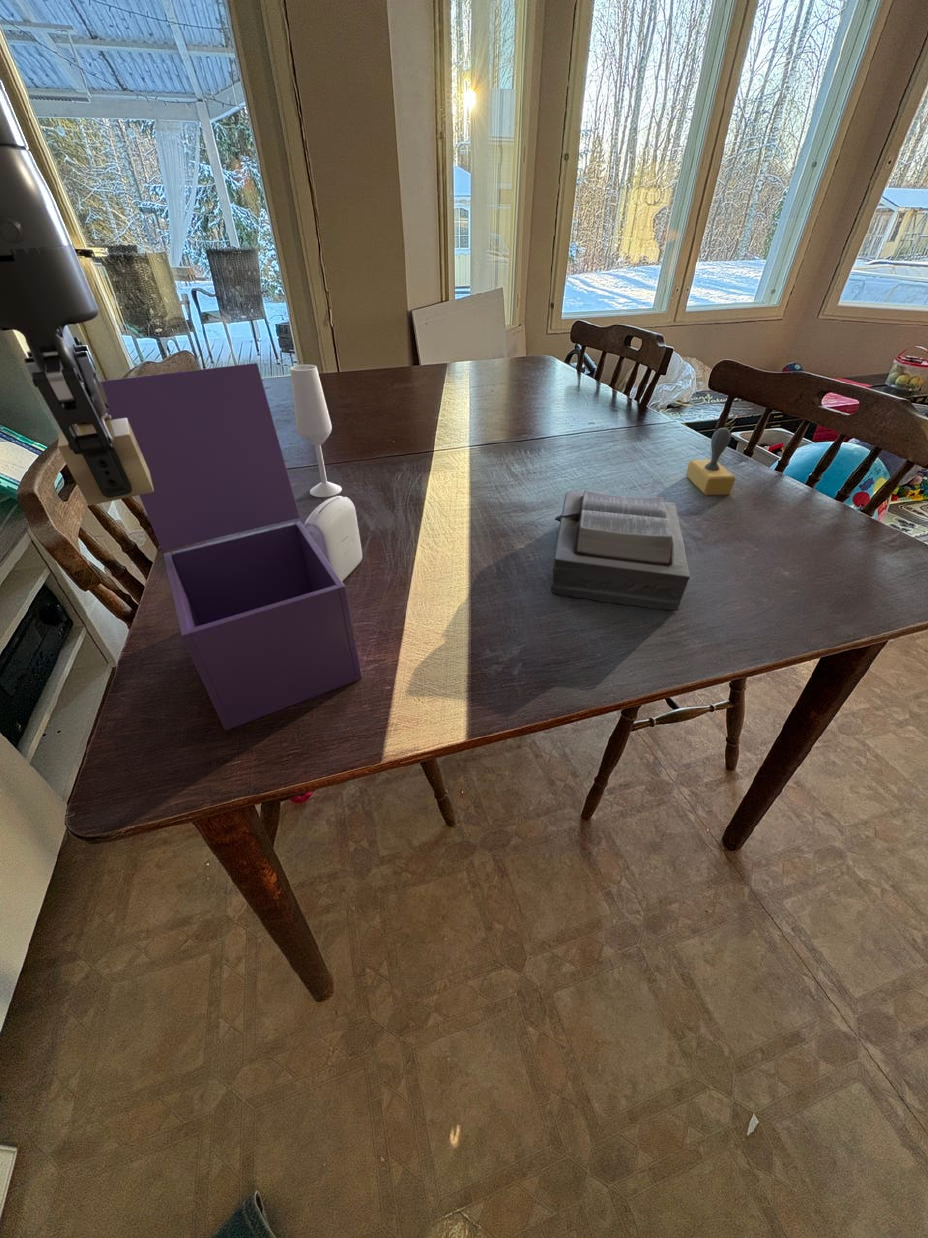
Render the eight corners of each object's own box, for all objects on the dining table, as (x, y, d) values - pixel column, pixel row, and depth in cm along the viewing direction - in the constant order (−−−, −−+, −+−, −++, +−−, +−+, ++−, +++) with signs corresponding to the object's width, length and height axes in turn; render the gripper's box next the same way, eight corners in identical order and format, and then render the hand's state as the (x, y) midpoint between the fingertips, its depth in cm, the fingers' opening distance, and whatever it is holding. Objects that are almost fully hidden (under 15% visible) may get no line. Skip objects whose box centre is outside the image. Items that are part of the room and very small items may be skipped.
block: (88, 505, 42) (57, 446, 39) (88, 484, 46) (59, 427, 43) (154, 492, 44) (129, 434, 41) (149, 472, 48) (126, 417, 45)
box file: (362, 678, 65) (345, 586, 56) (225, 731, 58) (181, 635, 49) (319, 606, 77) (300, 520, 68) (201, 643, 70) (163, 553, 61)
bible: (520, 587, 80) (525, 531, 74) (566, 514, 99) (573, 465, 93) (676, 625, 73) (695, 567, 67) (693, 538, 92) (709, 487, 86)
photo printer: (334, 592, 79) (320, 520, 72) (311, 587, 81) (294, 516, 73) (366, 559, 87) (357, 491, 79) (344, 554, 88) (332, 487, 80)
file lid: (257, 362, 59) (256, 363, 60) (93, 381, 53) (94, 382, 53) (300, 517, 67) (298, 516, 68) (161, 550, 61) (161, 549, 61)
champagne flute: (345, 493, 107) (326, 369, 92) (314, 499, 105) (288, 373, 90) (336, 481, 112) (316, 361, 97) (306, 487, 110) (280, 365, 95)
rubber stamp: (684, 475, 114) (700, 420, 106) (710, 474, 114) (727, 419, 107) (704, 495, 106) (722, 437, 98) (731, 494, 106) (751, 436, 99)
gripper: (-46, 239, 37) (70, 463, 48) (-94, 249, 28) (65, 527, 38) (72, 235, 40) (157, 448, 51) (66, 242, 31) (173, 503, 41)
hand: (117, 481), depth 45 cm, fingers closed on block, 5 cm apart
